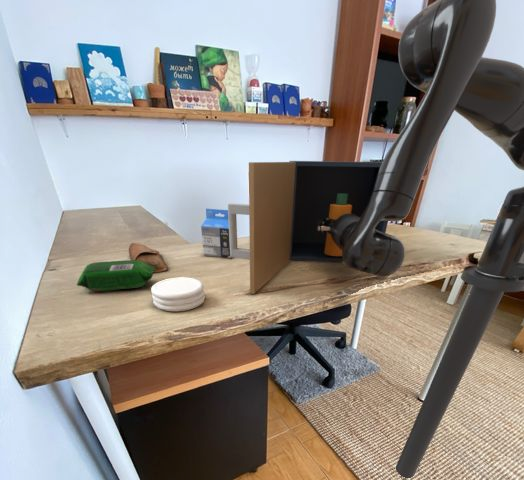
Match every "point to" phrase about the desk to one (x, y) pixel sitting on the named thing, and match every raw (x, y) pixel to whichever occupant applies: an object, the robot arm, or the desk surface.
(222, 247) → the tape cartridge
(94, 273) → the snack package
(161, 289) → the coaster
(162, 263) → the sunglasses case
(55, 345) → the desk surface
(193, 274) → the desk surface
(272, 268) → the fridge door
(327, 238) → the juice bottle
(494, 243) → the robot arm
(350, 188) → the box
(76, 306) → the desk surface
